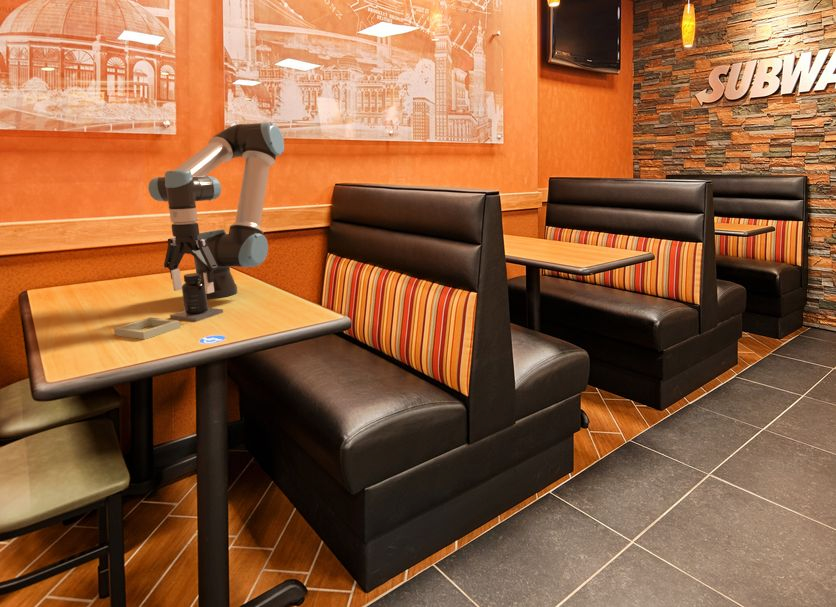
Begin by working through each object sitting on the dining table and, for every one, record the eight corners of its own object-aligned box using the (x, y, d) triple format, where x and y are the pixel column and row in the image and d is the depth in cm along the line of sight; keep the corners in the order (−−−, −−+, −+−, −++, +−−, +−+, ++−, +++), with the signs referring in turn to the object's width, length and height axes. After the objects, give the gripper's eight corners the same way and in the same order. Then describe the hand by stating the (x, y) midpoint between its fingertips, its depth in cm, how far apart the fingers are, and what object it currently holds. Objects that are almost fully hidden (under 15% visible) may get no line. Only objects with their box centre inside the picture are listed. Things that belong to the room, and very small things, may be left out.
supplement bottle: (189, 309, 174) (184, 272, 171) (211, 308, 174) (206, 271, 171) (182, 315, 167) (177, 277, 164) (204, 314, 168) (200, 276, 164)
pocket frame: (114, 335, 153) (113, 328, 152) (151, 323, 163) (150, 317, 163) (144, 339, 148) (143, 332, 147) (180, 327, 158) (179, 320, 158)
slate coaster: (170, 318, 168) (169, 315, 168) (197, 309, 178) (197, 306, 178) (196, 321, 164) (195, 318, 164) (223, 312, 174) (222, 309, 173)
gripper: (145, 223, 166) (155, 291, 171) (205, 224, 155) (214, 296, 161) (165, 221, 172) (175, 286, 178) (224, 222, 162) (233, 291, 167)
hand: (193, 291), depth 169 cm, fingers open, 13 cm apart
